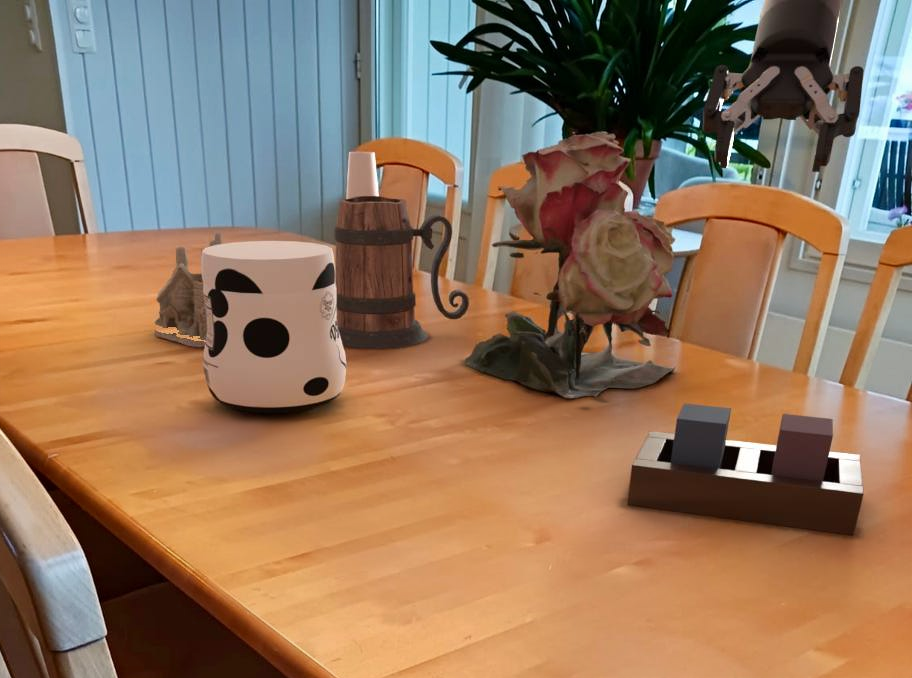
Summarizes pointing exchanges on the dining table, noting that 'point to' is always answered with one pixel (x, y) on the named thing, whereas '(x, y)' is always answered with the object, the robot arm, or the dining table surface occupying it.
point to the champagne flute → (362, 175)
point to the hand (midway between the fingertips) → (770, 164)
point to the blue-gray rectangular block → (700, 436)
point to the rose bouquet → (583, 272)
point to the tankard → (383, 273)
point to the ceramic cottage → (184, 302)
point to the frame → (748, 487)
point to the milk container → (272, 326)
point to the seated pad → (803, 447)
